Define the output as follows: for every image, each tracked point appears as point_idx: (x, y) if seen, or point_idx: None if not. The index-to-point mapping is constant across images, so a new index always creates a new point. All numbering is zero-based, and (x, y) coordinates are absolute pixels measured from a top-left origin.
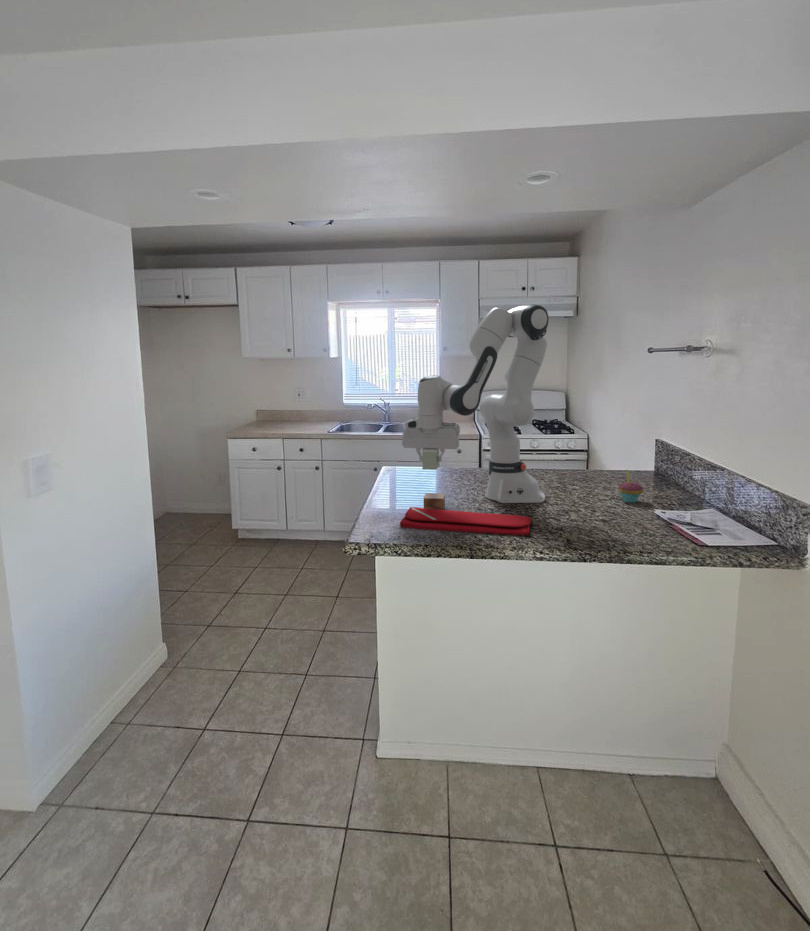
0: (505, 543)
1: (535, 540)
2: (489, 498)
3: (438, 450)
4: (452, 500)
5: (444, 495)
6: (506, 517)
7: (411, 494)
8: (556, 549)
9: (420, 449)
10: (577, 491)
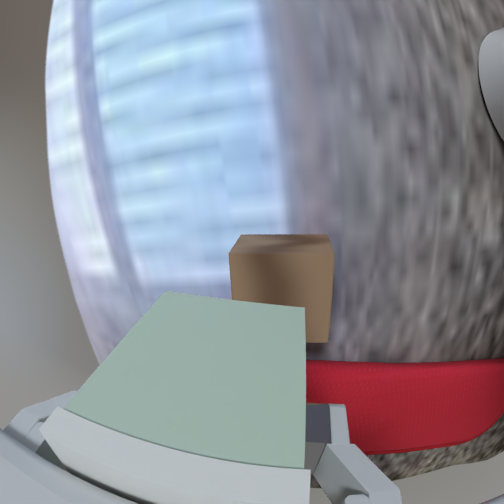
0: (423, 465)
1: (474, 442)
2: (497, 127)
3: (300, 472)
4: (357, 132)
5: (332, 270)
6: (479, 403)
7: (152, 61)
8: (479, 458)
9: (61, 465)
10: None
